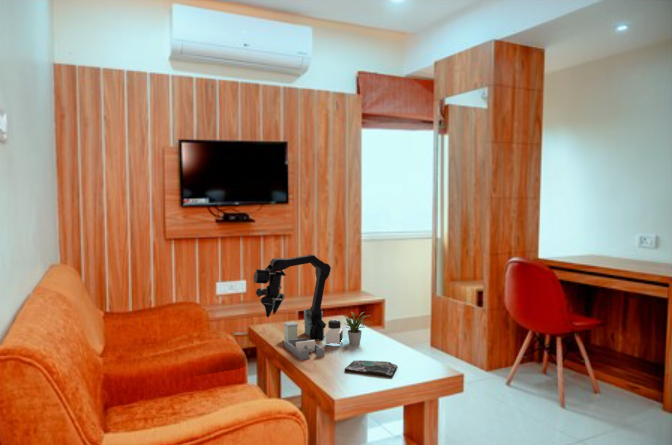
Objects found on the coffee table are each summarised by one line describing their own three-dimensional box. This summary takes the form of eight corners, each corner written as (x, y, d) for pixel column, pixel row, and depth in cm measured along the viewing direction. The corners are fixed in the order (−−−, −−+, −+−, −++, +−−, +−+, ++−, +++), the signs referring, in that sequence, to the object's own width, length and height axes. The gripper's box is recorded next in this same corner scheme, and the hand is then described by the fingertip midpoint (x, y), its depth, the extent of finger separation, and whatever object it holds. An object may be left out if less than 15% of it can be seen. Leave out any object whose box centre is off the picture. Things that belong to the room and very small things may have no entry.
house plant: (371, 339, 247) (372, 308, 246) (370, 348, 234) (371, 315, 233) (344, 338, 249) (344, 307, 248) (341, 346, 235) (342, 313, 234)
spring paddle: (295, 352, 225) (295, 342, 225) (313, 350, 229) (313, 339, 229) (301, 357, 218) (301, 346, 218) (320, 354, 222) (320, 344, 222)
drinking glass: (301, 331, 260) (301, 309, 259) (318, 329, 264) (318, 308, 264) (308, 336, 251) (308, 314, 250) (325, 334, 255) (325, 312, 255)
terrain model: (398, 366, 210) (398, 359, 210) (391, 379, 196) (392, 371, 196) (353, 361, 216) (354, 354, 216) (344, 373, 202) (344, 365, 202)
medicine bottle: (339, 347, 235) (340, 322, 234) (325, 346, 236) (325, 322, 235) (342, 342, 242) (342, 319, 241) (328, 341, 243) (329, 318, 242)
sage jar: (293, 338, 247) (293, 321, 247) (297, 341, 243) (297, 324, 242) (283, 340, 245) (284, 322, 244) (287, 343, 240) (287, 325, 240)
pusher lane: (284, 346, 235) (284, 338, 235) (307, 343, 240) (307, 335, 240) (300, 359, 216) (300, 351, 216) (324, 356, 221) (324, 347, 221)
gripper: (265, 279, 247) (262, 309, 247) (252, 283, 229) (248, 316, 229) (286, 282, 245) (282, 313, 245) (274, 287, 226) (270, 319, 227)
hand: (270, 315), depth 236 cm, fingers open, 9 cm apart
